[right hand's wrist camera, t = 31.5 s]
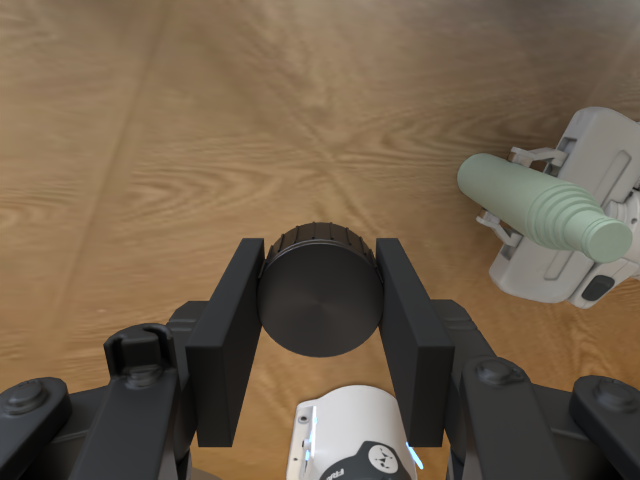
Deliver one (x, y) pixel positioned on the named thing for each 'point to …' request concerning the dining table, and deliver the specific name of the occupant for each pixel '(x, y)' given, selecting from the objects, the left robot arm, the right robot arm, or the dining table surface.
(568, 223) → the bottle
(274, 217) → the dining table surface
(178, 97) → the dining table surface
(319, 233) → the cap
